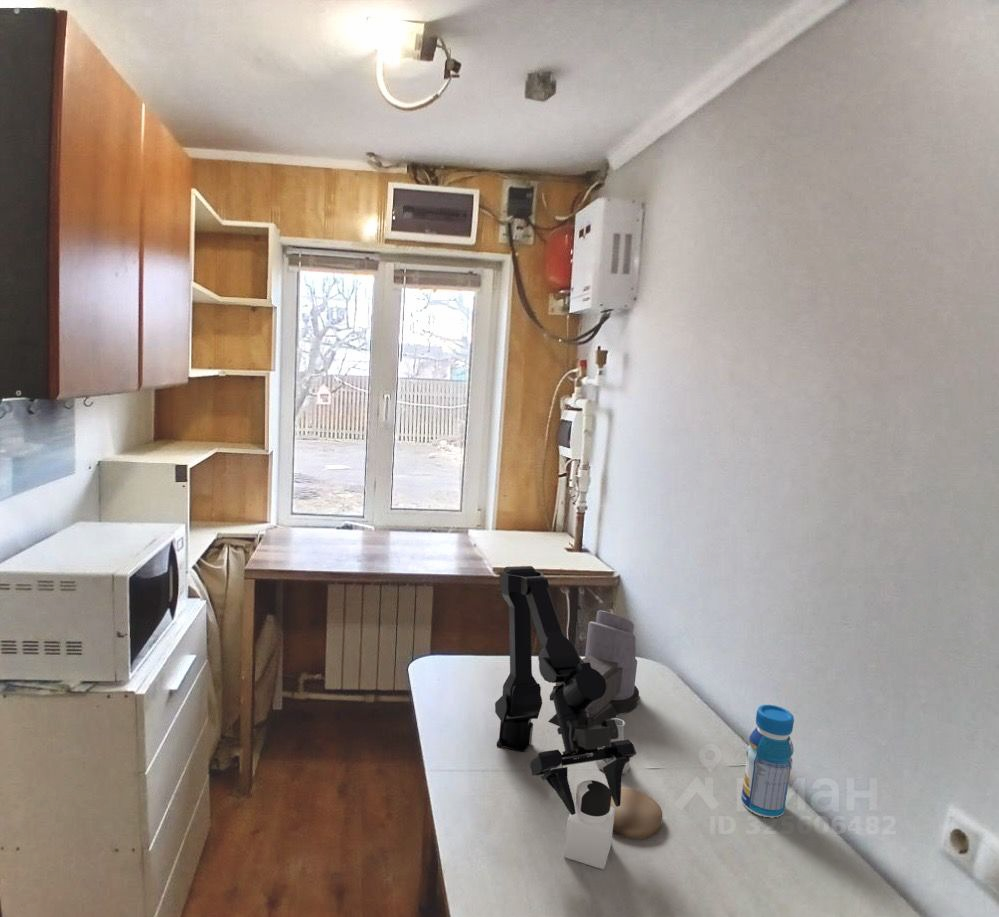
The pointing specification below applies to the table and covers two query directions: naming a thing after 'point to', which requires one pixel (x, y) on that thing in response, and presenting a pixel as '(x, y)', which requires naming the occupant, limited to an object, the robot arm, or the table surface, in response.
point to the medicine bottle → (590, 825)
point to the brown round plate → (636, 815)
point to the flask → (620, 726)
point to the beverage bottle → (768, 762)
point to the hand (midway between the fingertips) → (596, 810)
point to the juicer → (611, 665)
